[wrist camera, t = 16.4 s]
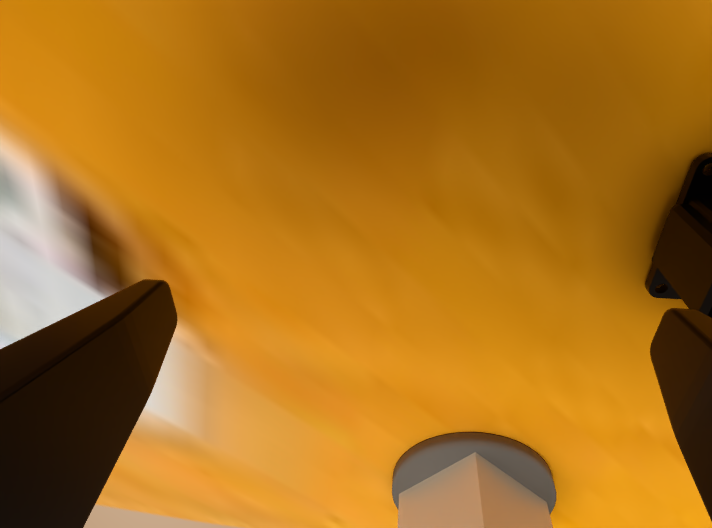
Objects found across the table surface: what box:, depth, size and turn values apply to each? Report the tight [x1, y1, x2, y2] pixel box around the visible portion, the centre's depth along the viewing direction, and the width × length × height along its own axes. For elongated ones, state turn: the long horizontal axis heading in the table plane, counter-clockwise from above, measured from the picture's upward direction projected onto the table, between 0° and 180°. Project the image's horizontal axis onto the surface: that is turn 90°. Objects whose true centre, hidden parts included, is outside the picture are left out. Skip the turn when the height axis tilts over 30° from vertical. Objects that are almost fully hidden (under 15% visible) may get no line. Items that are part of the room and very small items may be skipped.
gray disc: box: [392, 432, 556, 514], centre depth 30 cm, size 10×10×1 cm
